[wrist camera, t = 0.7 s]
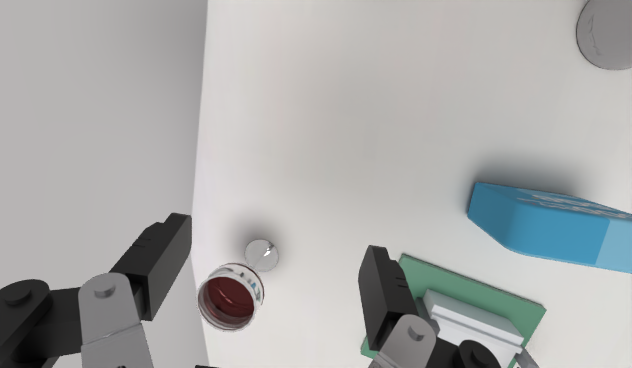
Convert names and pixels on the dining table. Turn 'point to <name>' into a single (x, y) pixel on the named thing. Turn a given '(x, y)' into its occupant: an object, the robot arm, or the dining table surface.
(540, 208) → the blue rounded block
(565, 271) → the dining table surface
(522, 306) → the processor board
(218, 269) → the wineglass
